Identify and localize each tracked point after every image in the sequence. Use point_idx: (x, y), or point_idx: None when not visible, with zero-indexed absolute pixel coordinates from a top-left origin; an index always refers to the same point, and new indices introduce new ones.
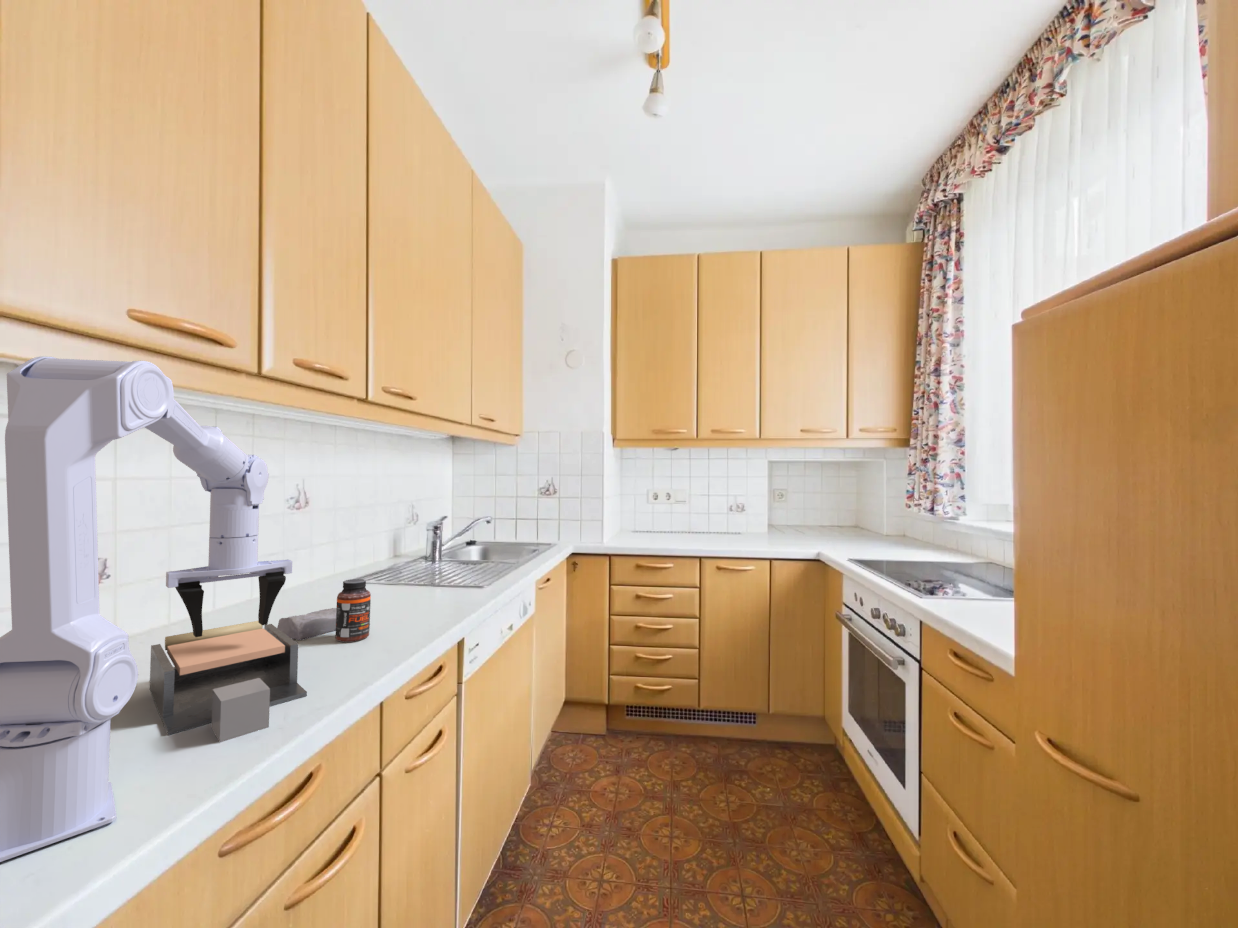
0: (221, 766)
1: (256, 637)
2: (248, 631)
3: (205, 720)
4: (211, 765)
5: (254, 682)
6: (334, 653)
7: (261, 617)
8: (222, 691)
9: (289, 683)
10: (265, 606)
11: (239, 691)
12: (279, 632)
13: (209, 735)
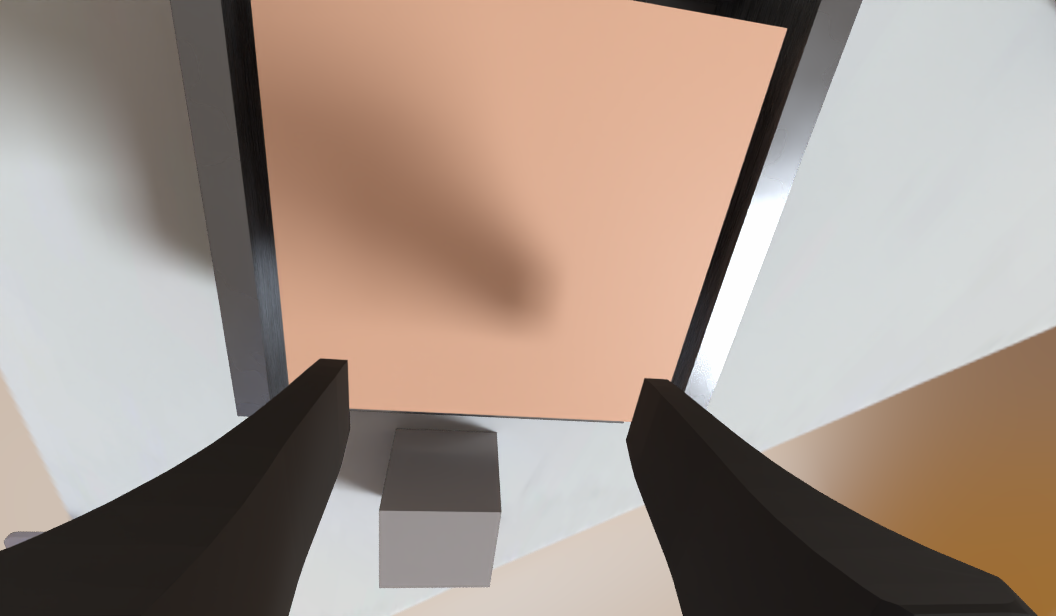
0: (377, 574)
1: (658, 207)
2: (701, 24)
3: (386, 411)
4: (364, 563)
5: (478, 532)
6: (922, 117)
7: (643, 454)
8: (396, 537)
9: None
10: (666, 550)
11: (429, 562)
12: (767, 212)
13: (385, 460)
